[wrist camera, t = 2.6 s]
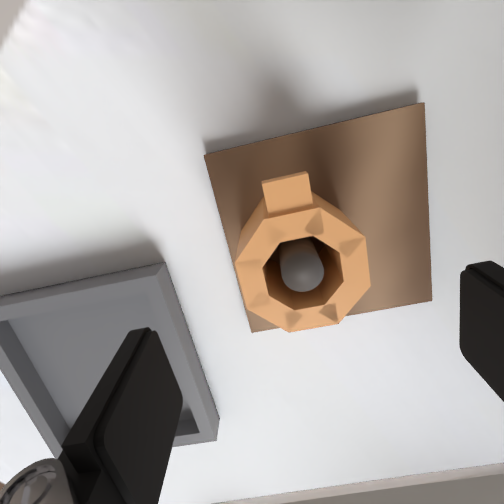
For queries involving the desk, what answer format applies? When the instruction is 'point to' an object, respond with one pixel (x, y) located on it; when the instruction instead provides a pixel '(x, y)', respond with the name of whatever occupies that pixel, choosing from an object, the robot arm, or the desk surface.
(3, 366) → the tray
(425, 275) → the base
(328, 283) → the collar
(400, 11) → the desk surface
